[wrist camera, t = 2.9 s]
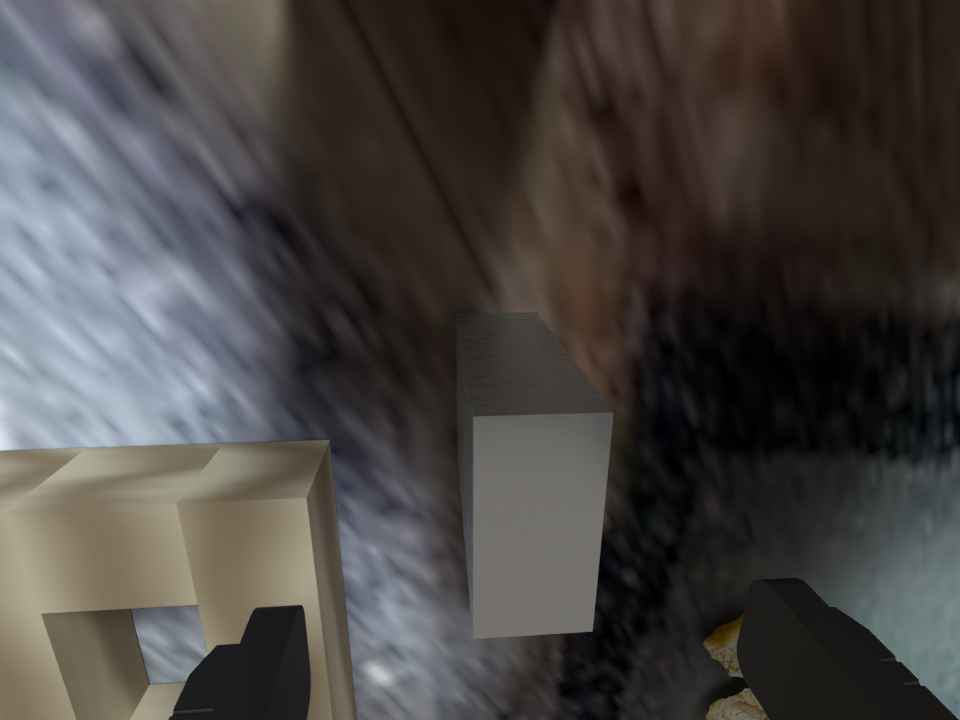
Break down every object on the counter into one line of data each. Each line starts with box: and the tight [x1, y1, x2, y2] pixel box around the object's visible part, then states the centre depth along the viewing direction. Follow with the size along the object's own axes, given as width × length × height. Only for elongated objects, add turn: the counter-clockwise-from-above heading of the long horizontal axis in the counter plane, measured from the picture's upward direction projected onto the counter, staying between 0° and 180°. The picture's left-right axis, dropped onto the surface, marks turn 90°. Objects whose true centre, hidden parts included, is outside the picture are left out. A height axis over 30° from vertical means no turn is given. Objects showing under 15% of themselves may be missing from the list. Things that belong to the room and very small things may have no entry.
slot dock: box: [0, 440, 357, 720], centre depth 21 cm, size 13×16×4 cm
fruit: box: [703, 613, 768, 720], centre depth 25 cm, size 8×8×4 cm
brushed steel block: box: [456, 312, 614, 639], centre depth 16 cm, size 3×6×9 cm, turn 0°
